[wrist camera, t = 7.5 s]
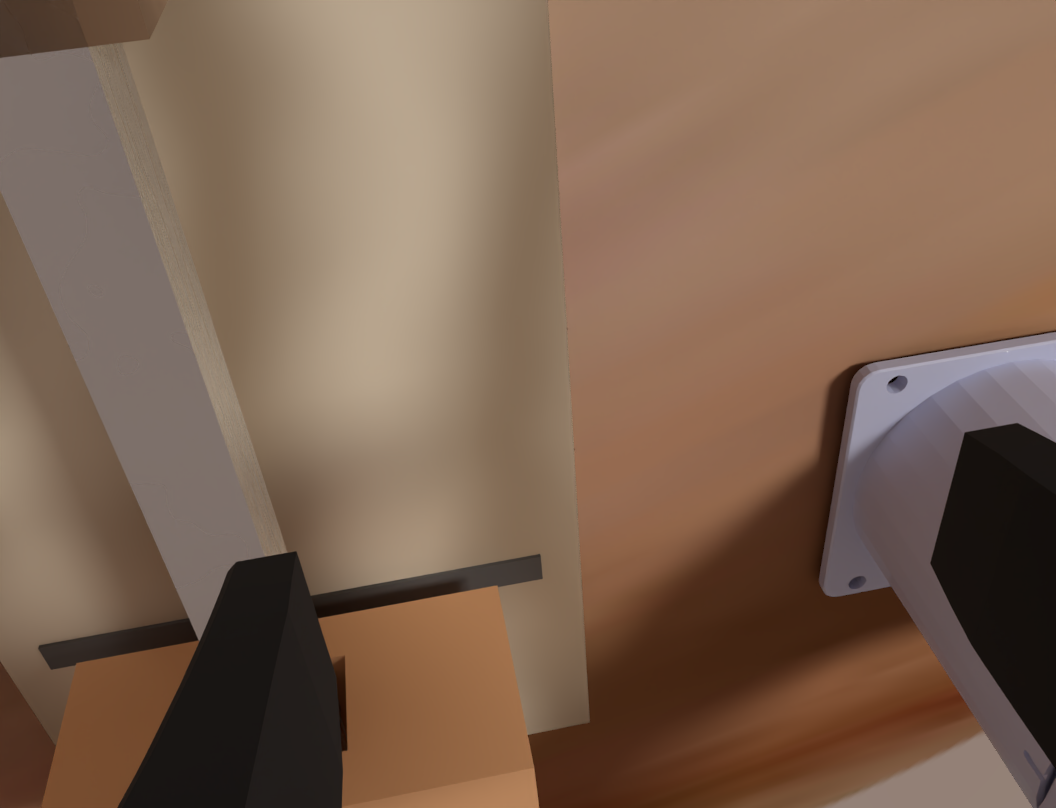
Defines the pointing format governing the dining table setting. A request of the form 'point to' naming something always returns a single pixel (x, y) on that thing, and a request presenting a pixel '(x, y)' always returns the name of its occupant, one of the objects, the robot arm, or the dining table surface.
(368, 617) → the collar
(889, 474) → the robot arm
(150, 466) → the rod
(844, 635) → the dining table surface
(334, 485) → the board
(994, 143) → the dining table surface
